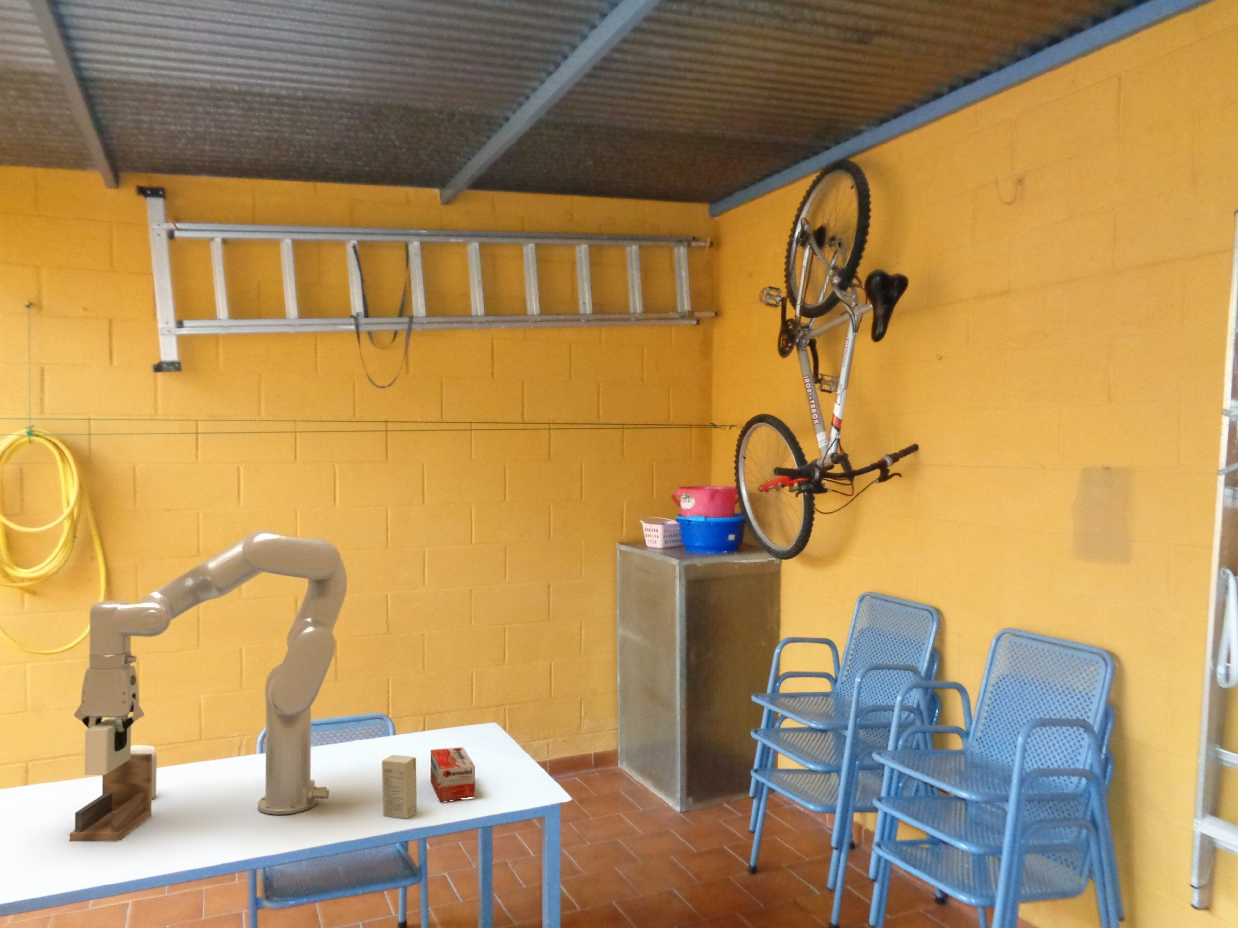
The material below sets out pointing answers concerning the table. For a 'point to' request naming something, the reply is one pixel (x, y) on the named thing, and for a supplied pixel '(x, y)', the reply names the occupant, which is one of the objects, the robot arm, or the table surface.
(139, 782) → the shelf
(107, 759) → the beige rectangular block
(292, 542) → the robot arm
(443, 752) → the medicine box
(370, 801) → the table surface
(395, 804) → the skincare box
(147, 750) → the photo printer
